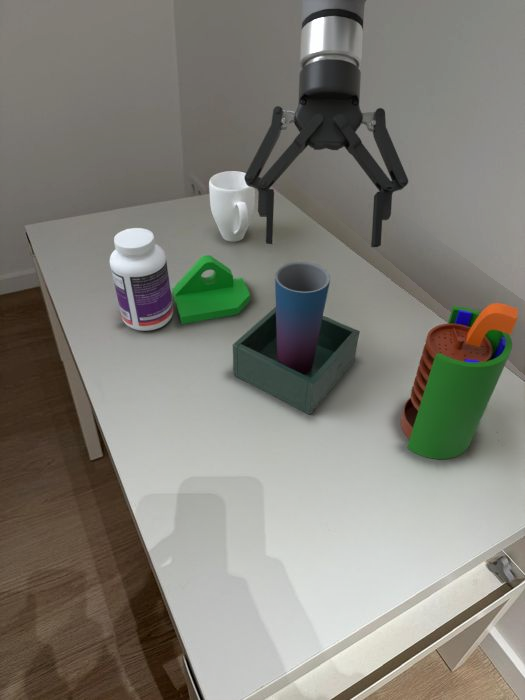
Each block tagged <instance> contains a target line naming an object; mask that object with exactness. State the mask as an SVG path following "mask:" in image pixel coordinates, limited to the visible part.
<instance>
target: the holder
mask: <svg viewBox="0 0 525 700" xmlns="http://www.w3.org/2000/svg"><path fill="white" fill-rule="evenodd" d="M360 333H361V331H360V330H358V329H355V328H353V327H351V326H348V325H346V324H344V323H341V322H339V321H336V320H335V319H332V318H329V317H327V316H326V315H323V317H322V322H321V327H320V332H319V337H318V342H317V347H316V352H315V356H314V361H313V366H312V369H311V370H310V371H309V372H308V373H307V374H304V375H303V374H301V373H299V372H297V371H295V370H293V369H291V368H289V367H287V366H285V365H283V364H281V363H279V362H277V330H276V306H274V307H273V308H272V309H270V311H269V312H267V314H265V315H264V316H263V317H262V318H261V319H259V320H258V322H256V323H255V324H254V325H253V326H252V327H250V328H249V330H247V331H246V332H245V333H244V334H243V335H242V336H241V337H240V338H238V339H237V340H236V341H234V343H233V344H232V369H233V371H232V372H233V374H232V375H233V376H235V377H236V378H238V379H240V380H242V381H243V382H246V383H248V384H249V385H251V386H253V387H255V388H257V389H259V390H261V391H263V392H265V393H267V394H268V395H271V396H272V397H275V398H277V399H279V400H280V401H282V402H284V403H285V404H287V405H290V406H291V407H294V408H295V409H297V410H299V411H301V412H303V413H305V414H307V415H308V416H310V415H311V414H312V413H313V412H314V411H315V409H316V408H317V407H318V406H319V405H320V403H321V402H322V401H323V400H324V398H325V397H326V396H327V395H328V394H329V393H330V392H331V390H332V389H333V388H334V386H335V385H336V384H337V383H338V382H339V381H340V379H341V378H342V377H343V376H344V374H345V373H346V372H347V371H348V370H349V369H350V367H351V366H352V365H353V363H354V362H355V359H356V353H357V348H358V344H359V338H360Z"/></svg>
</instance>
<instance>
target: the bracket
mask: <svg viewBox="0 0 525 700" xmlns="http://www.w3.org/2000/svg"><path fill="white" fill-rule="evenodd" d="M206 271H213V273H212V274H210V276H202V275H203V274H204V273H205V272H206ZM171 291H172V296H173V299H174V303H175V307H176V310H177V313H178V317H179V320H180V324H181V325H184V324H190V323H196V322H202V321H208V320H215V319H219V318H226V317H231V316H237V315H239V314H240V313H241V312H242V310H244V308H245V307H246V306H247V305H248V304H249V303H250V302H251V293H250V290H249V288H248V287H247V284H246V282H245V280H244V278H243V277H238V278H234V275H233V273H232V269H230V268H229V267H228V266H226V265H225V264H223V262H221V261H219V260H218V259H216V258H215V257H213V256H212V255H210V254H207V255H206V254H205V255H203V256H201V257H199V259H198V260H197V261H196V262H195V264H194V265H193V266H192V267H191V268H190V269H189V270H188V271H187V272H186V273H185V274H184V275H183V276H182V278H181V279H180V280H179V281H177V283H176V284H175V285H174V286H173V287H172V290H171Z"/></svg>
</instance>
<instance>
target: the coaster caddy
mask: <svg viewBox="0 0 525 700" xmlns="http://www.w3.org/2000/svg"><path fill="white" fill-rule="evenodd" d="M518 314H519V309H518V308H516V307H515V306H511V305H508V304H505V303H500V302H494V303H491V304H489V305H487V306H486V307H485V308H484V309H483V310H482V311H479V310H476V309H473V308H469V307H466V306H465V307H464V306H458V305H453V306H452V309H451V311H450V314H449V318H448V320H447V323H442V324H438V325H436V326H434V327H432V328H431V329H430V330H429V331H428V332H427V335H426V338H425V344H424V345H423V349H422V352H421V353H422V354H421V357H420V360H419V363H418V367H417V369H416V374H415V377H414V379H413V384H412V387H411V391H410V397H409V398H408V399H407V400H406V401H405V403H404V406H403V410H402V413H401V416H400V426H401V430H402V432H403V434H404V435H405V437H406V438H407V439H408V443H407V446H406V449H408V450H410V451H411V452H413V453H415V454H417V455H419V456H421V457H425V458H428V459H432V460H433V459H434V460H449V459H453V458H456V457H458V456H460V455H463V453H465V452H466V451H467V449H468V448H469V447H470V445H471V443H472V441H473V439H474V436H475V435H476V432H477V429H478V427H479V425H480V424H481V423H480V422H481V420H482V418H483V416H484V413H485V412H486V409H487V407H488V405H489V403H490V400H491V397H492V396H493V393H494V391H495V388H496V386H497V384H498V382H499V379H500V378H501V375H502V373H503V371H504V369H505V366H506V363H507V362H508V359H509V357H510V355H511V352H512V350H513V341H512V337H511V335H512V332H513V330H514V328H515V326H516V323H517V321H518V316H519V315H518Z"/></svg>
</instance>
